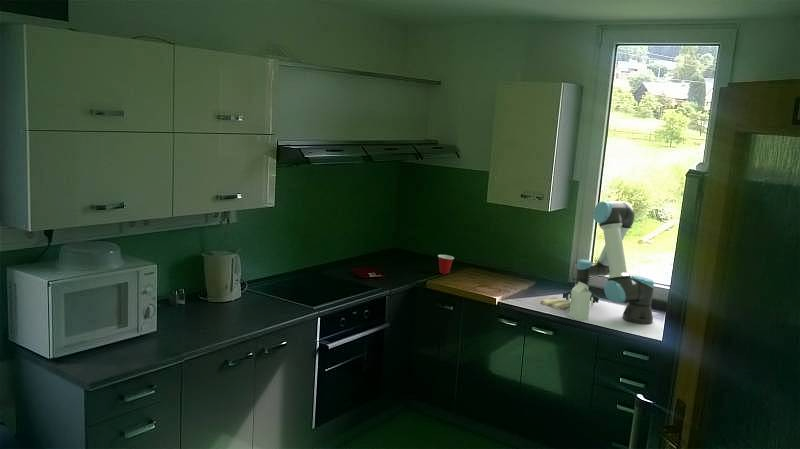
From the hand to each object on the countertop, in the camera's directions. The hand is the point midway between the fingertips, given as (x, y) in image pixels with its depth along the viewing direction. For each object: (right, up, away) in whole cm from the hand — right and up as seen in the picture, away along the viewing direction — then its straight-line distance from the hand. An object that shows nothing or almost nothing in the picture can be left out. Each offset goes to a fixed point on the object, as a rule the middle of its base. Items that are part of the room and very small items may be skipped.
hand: (580, 301), depth 329 cm
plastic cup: (-65, +8, +83) cm, 106 cm away
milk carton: (+1, -10, +5) cm, 11 cm away
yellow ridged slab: (-4, -5, +28) cm, 29 cm away
